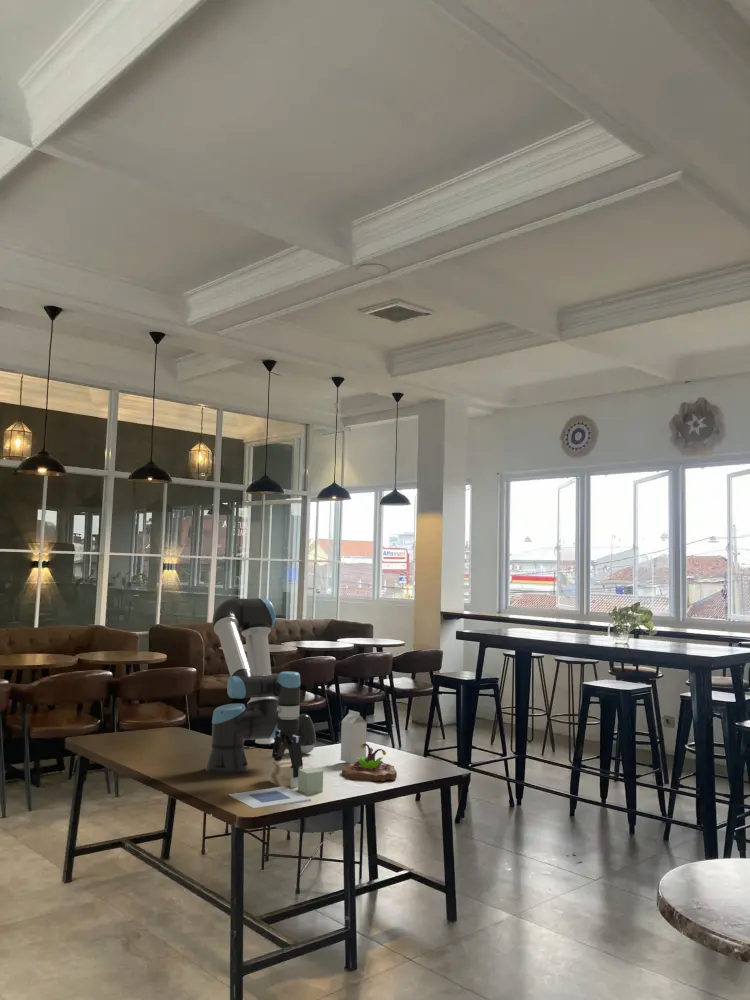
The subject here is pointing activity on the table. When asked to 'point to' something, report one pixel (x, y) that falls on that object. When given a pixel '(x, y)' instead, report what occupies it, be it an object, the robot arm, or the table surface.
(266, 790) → the blueprint mat
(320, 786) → the sage block
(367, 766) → the plant
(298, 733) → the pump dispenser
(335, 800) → the table surface
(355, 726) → the milk carton
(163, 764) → the table surface
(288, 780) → the maple block
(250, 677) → the robot arm
